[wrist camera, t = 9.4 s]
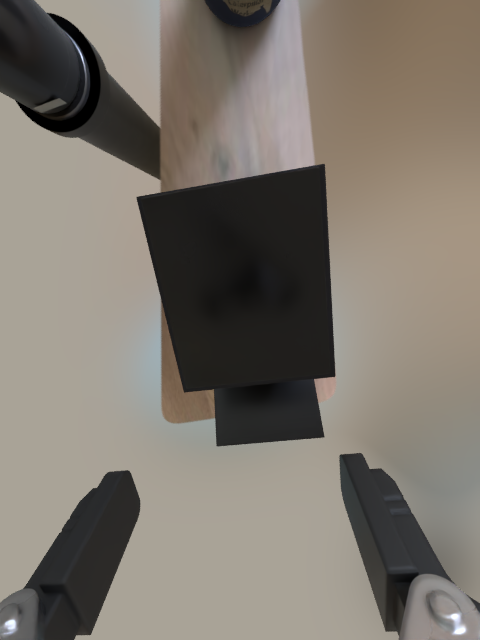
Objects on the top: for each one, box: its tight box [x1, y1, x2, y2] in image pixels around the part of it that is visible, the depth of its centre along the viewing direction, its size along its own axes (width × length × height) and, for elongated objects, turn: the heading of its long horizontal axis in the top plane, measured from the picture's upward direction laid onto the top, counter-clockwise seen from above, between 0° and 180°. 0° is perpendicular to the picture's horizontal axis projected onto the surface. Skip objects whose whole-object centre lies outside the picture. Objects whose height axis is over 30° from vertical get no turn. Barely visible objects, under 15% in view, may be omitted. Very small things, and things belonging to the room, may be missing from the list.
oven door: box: [214, 379, 324, 446], centre depth 37 cm, size 5×13×14 cm
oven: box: [137, 164, 335, 392], centre depth 29 cm, size 16×13×18 cm
